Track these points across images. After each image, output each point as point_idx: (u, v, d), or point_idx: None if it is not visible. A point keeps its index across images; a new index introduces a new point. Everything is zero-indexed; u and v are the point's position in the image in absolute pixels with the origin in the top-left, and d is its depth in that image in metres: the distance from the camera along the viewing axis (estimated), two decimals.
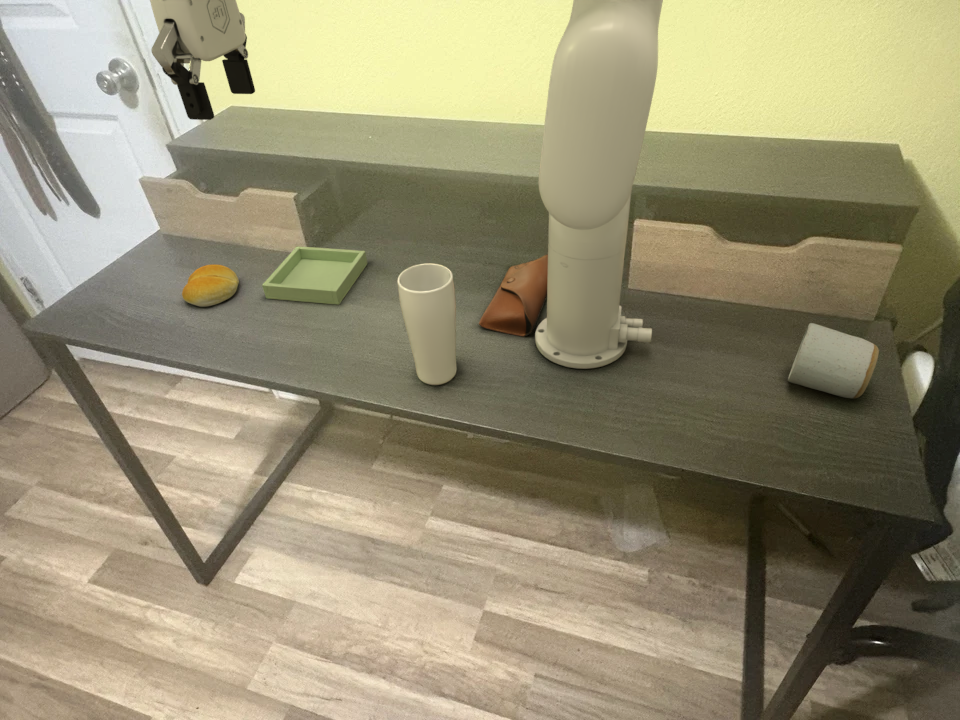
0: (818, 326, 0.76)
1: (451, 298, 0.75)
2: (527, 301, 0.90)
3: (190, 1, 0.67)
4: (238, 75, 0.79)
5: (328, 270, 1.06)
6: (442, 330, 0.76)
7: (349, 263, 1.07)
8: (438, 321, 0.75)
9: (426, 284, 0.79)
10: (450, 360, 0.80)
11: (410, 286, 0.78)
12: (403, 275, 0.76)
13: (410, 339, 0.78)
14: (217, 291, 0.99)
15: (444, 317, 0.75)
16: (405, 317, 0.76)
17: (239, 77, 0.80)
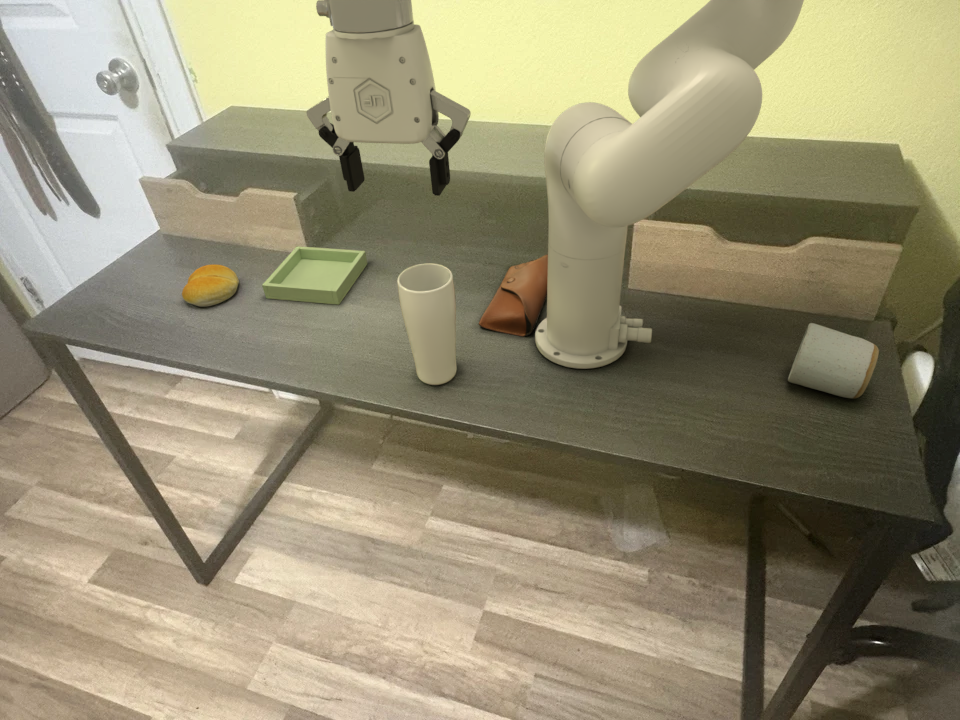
0: (818, 326, 0.76)
1: (451, 298, 0.75)
2: (527, 301, 0.90)
3: (333, 80, 0.61)
4: None
5: (328, 270, 1.06)
6: (442, 330, 0.76)
7: (349, 263, 1.07)
8: (438, 321, 0.75)
9: (426, 284, 0.79)
10: (450, 360, 0.80)
11: (410, 286, 0.78)
12: (403, 275, 0.76)
13: (410, 339, 0.78)
14: (217, 291, 0.99)
15: (444, 317, 0.75)
16: (405, 317, 0.76)
17: None
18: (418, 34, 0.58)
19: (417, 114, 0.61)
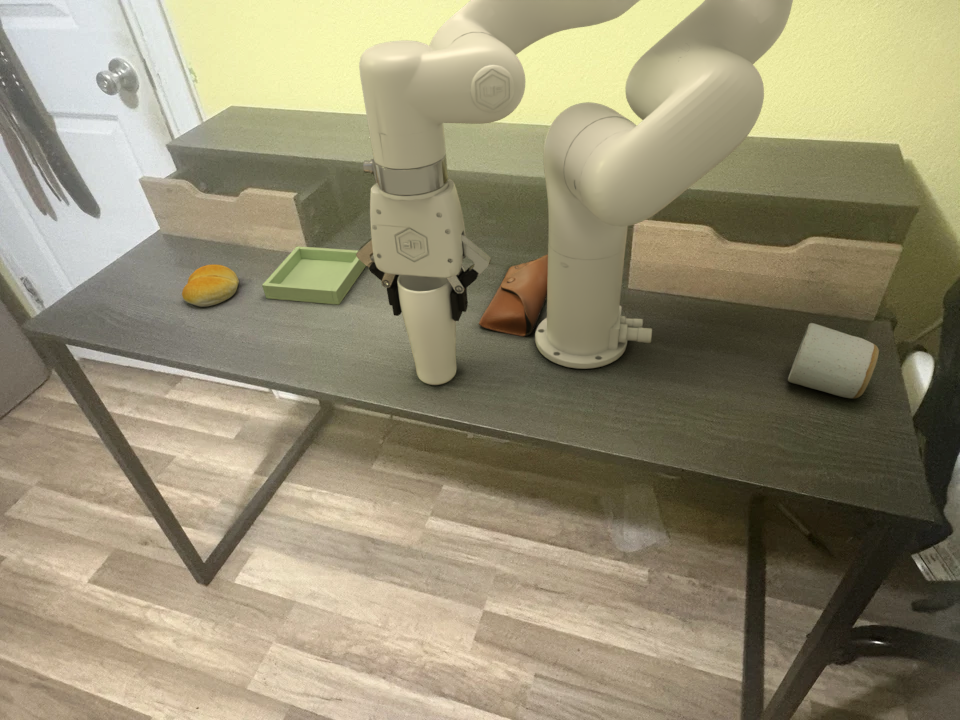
0: (818, 326, 0.76)
1: None
2: (527, 301, 0.90)
3: (376, 226, 0.69)
4: None
5: (328, 270, 1.06)
6: (442, 330, 0.76)
7: (349, 263, 1.07)
8: (438, 321, 0.75)
9: (426, 284, 0.79)
10: (450, 360, 0.80)
11: (410, 286, 0.78)
12: (403, 275, 0.76)
13: (410, 339, 0.78)
14: (217, 291, 0.99)
15: (444, 317, 0.75)
16: (405, 317, 0.76)
17: None
18: (453, 192, 0.66)
19: (450, 256, 0.69)
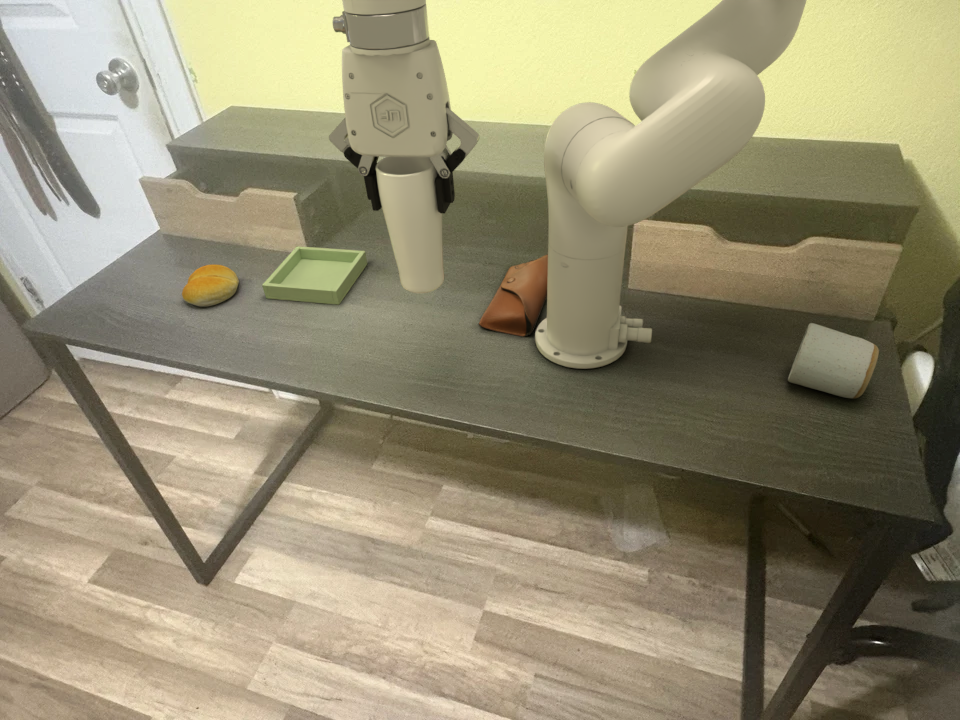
0: (818, 326, 0.76)
1: None
2: (527, 301, 0.90)
3: (349, 95, 0.61)
4: None
5: (328, 270, 1.06)
6: (427, 224, 0.69)
7: (349, 263, 1.07)
8: (422, 212, 0.67)
9: None
10: (437, 263, 0.73)
11: None
12: (383, 164, 0.68)
13: (392, 238, 0.71)
14: (217, 291, 0.99)
15: (428, 208, 0.67)
16: (385, 210, 0.68)
17: None
18: (435, 50, 0.59)
19: (433, 128, 0.61)
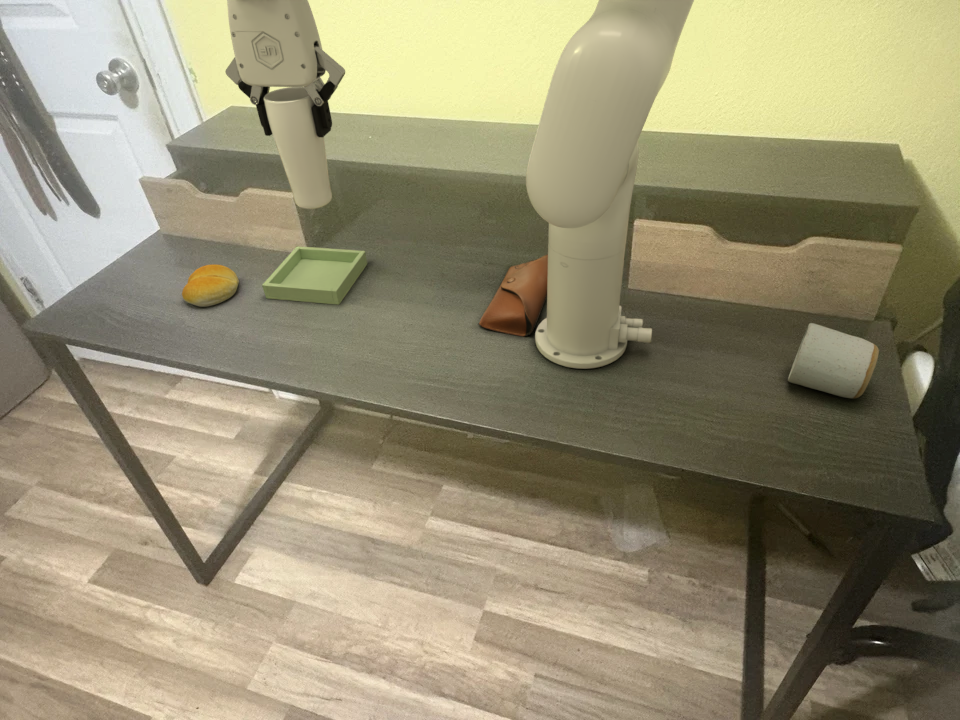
0: (818, 326, 0.76)
1: None
2: (527, 301, 0.90)
3: (235, 34, 0.76)
4: None
5: (328, 270, 1.06)
6: (308, 146, 0.83)
7: (349, 263, 1.07)
8: (302, 135, 0.82)
9: None
10: (321, 182, 0.87)
11: None
12: (272, 95, 0.83)
13: (281, 159, 0.85)
14: (217, 291, 0.99)
15: (308, 132, 0.82)
16: (273, 133, 0.83)
17: None
18: None
19: (303, 61, 0.76)
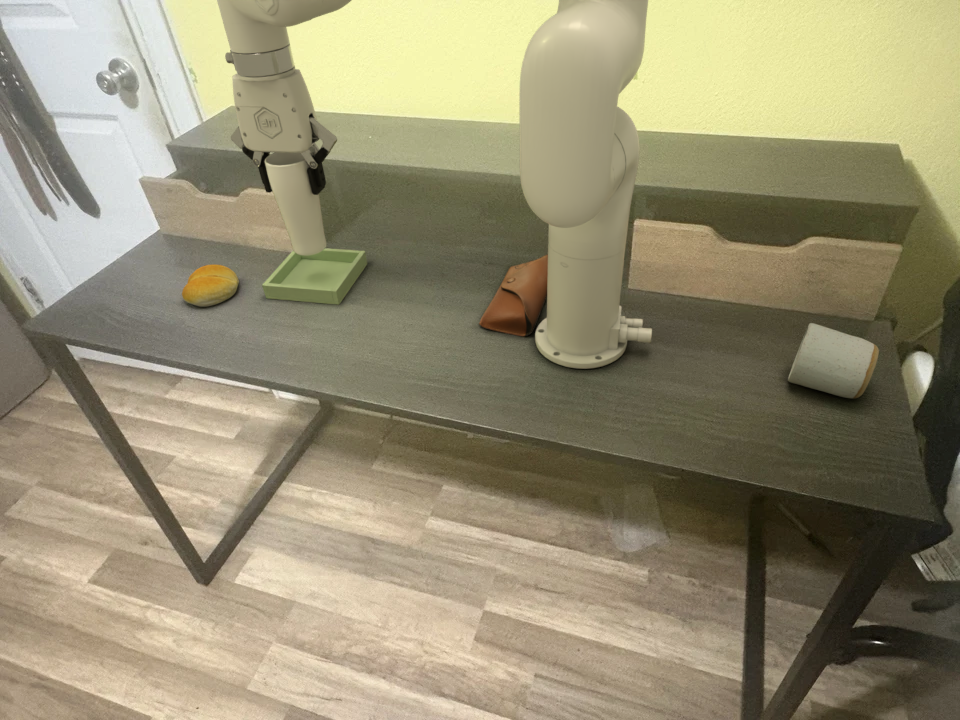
0: (818, 326, 0.76)
1: None
2: (527, 301, 0.90)
3: (239, 108, 0.85)
4: None
5: (328, 270, 1.06)
6: (304, 202, 0.93)
7: (349, 263, 1.07)
8: (299, 193, 0.92)
9: None
10: (316, 233, 0.97)
11: None
12: (272, 157, 0.93)
13: None
14: (217, 291, 0.99)
15: (304, 190, 0.92)
16: (273, 191, 0.93)
17: None
18: (296, 77, 0.83)
19: (299, 132, 0.86)
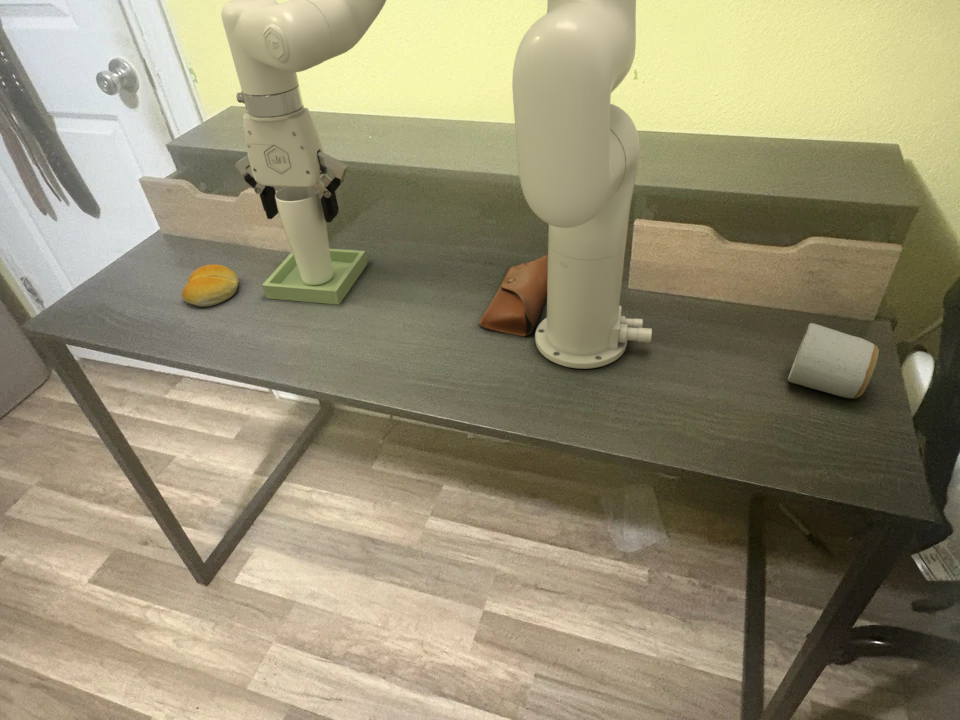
0: (818, 326, 0.76)
1: (318, 209, 0.95)
2: (527, 301, 0.90)
3: (250, 145, 0.89)
4: None
5: None
6: (312, 235, 0.96)
7: (349, 263, 1.07)
8: (308, 227, 0.95)
9: None
10: (324, 263, 1.00)
11: None
12: (282, 192, 0.96)
13: (290, 245, 0.98)
14: (217, 291, 0.99)
15: (312, 224, 0.95)
16: (283, 225, 0.96)
17: None
18: (305, 116, 0.86)
19: (308, 168, 0.89)
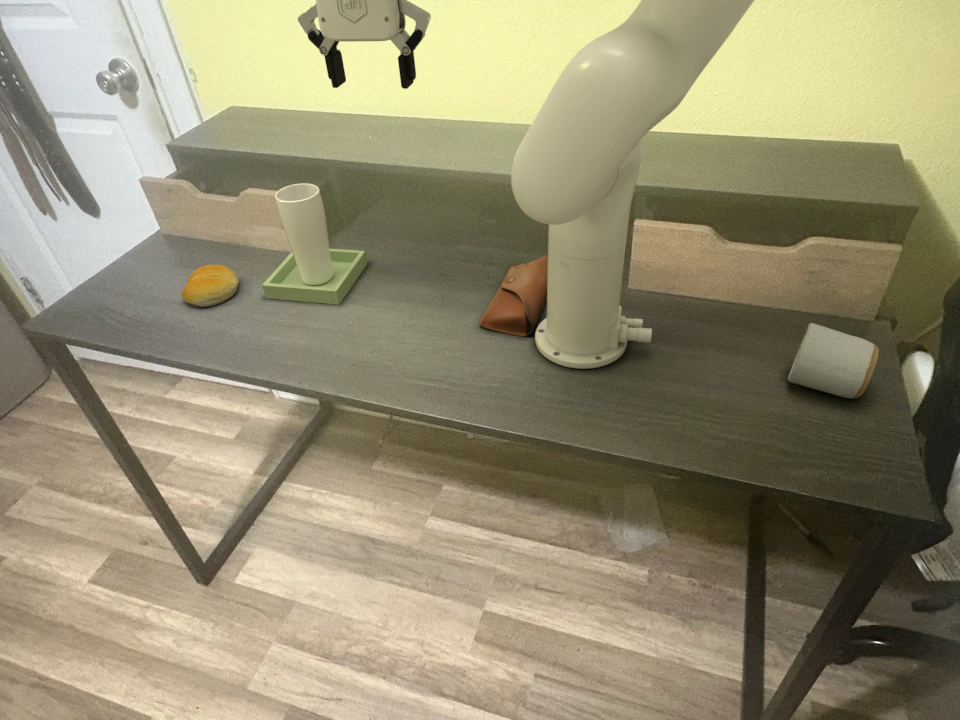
0: (818, 326, 0.76)
1: (318, 209, 0.95)
2: (528, 301, 0.90)
3: None
4: None
5: None
6: (312, 235, 0.96)
7: (349, 263, 1.07)
8: (308, 227, 0.95)
9: None
10: (324, 263, 1.00)
11: None
12: (282, 192, 0.96)
13: (290, 245, 0.98)
14: (217, 291, 0.99)
15: (313, 224, 0.95)
16: (283, 225, 0.96)
17: None
18: None
19: (387, 14, 0.76)
